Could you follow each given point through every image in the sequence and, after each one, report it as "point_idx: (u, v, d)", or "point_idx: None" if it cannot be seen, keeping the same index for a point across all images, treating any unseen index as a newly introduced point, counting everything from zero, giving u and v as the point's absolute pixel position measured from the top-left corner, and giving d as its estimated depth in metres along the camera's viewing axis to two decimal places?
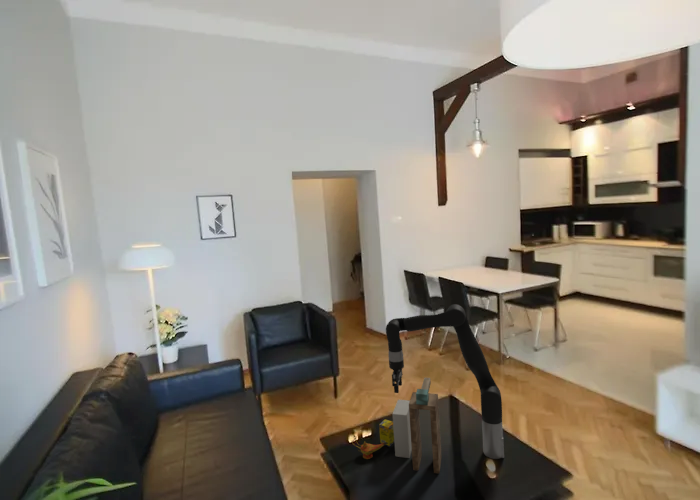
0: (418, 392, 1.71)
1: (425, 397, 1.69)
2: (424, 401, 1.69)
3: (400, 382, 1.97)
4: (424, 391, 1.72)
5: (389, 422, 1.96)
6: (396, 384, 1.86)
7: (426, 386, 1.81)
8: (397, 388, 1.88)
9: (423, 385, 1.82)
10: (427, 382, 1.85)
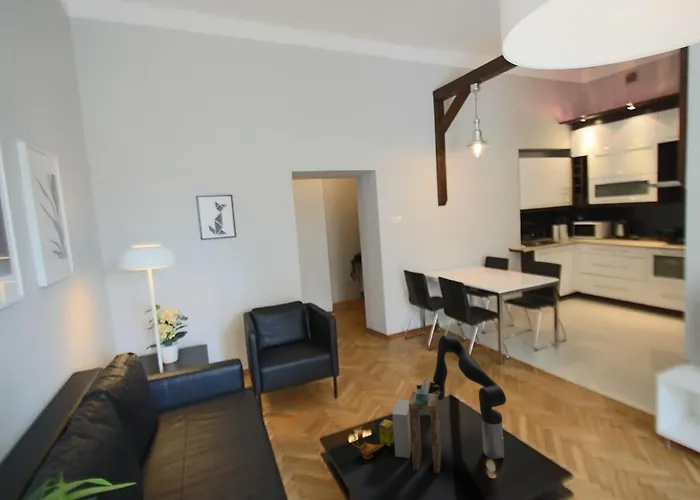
0: (418, 392, 1.71)
1: (425, 397, 1.69)
2: (424, 401, 1.69)
3: (436, 387, 1.95)
4: (424, 391, 1.72)
5: (389, 422, 1.96)
6: None
7: (426, 386, 1.81)
8: None
9: (423, 385, 1.82)
10: (427, 382, 1.85)
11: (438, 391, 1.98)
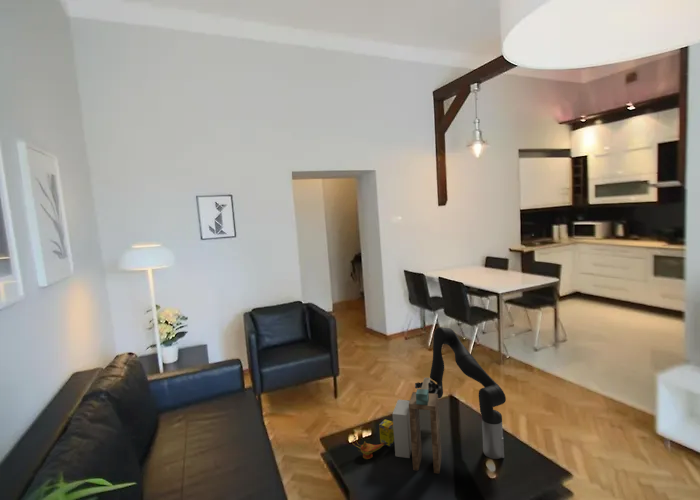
0: (418, 392, 1.71)
1: (425, 397, 1.69)
2: (424, 401, 1.69)
3: None
4: (424, 391, 1.72)
5: (389, 422, 1.96)
6: (417, 383, 1.90)
7: (426, 386, 1.81)
8: None
9: (423, 385, 1.82)
10: (427, 382, 1.85)
11: (432, 388, 1.87)
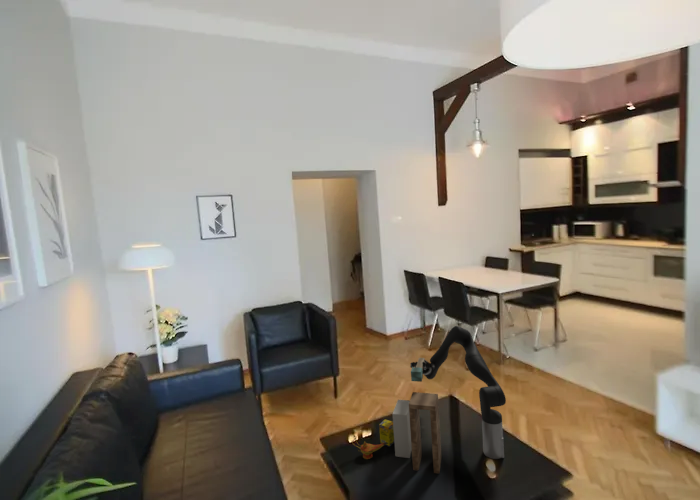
0: (413, 370, 1.87)
1: (419, 374, 1.85)
2: (418, 378, 1.85)
3: None
4: (418, 369, 1.87)
5: (389, 422, 1.96)
6: (412, 362, 2.05)
7: (420, 365, 1.96)
8: None
9: (417, 364, 1.98)
10: (421, 361, 2.01)
11: (426, 367, 2.02)
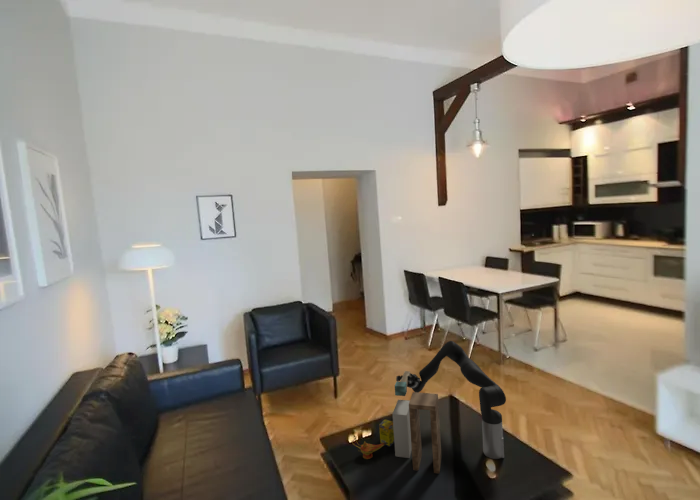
0: (397, 384, 1.87)
1: (403, 389, 1.85)
2: (402, 392, 1.85)
3: None
4: (402, 383, 1.88)
5: (389, 422, 1.96)
6: (398, 376, 2.05)
7: (405, 379, 1.97)
8: None
9: (402, 378, 1.98)
10: (406, 375, 2.01)
11: (411, 381, 2.02)
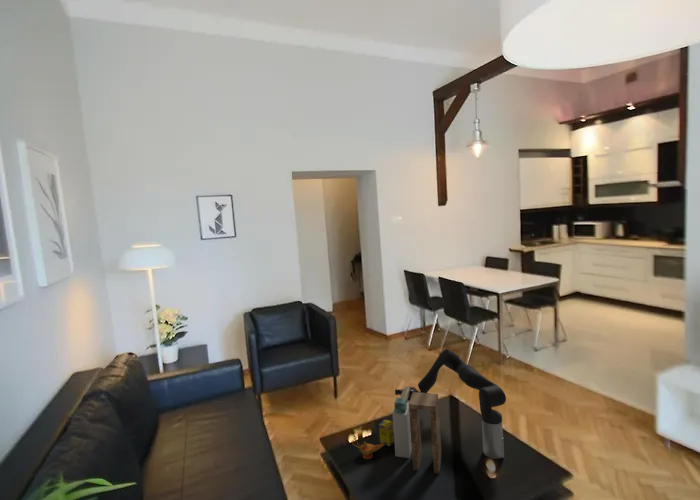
0: (396, 401, 1.85)
1: (403, 406, 1.82)
2: (402, 409, 1.83)
3: None
4: (402, 400, 1.85)
5: (389, 422, 1.96)
6: (395, 390, 2.04)
7: (405, 395, 1.94)
8: None
9: (402, 394, 1.96)
10: (406, 391, 1.98)
11: None
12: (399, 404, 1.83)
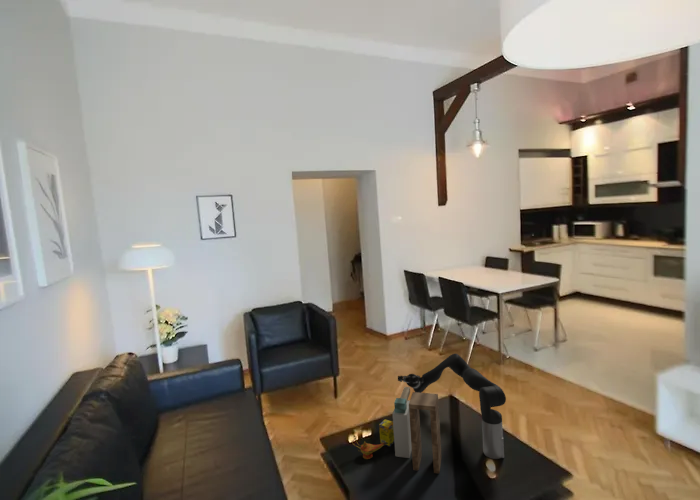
0: (396, 401, 1.85)
1: (403, 406, 1.82)
2: (402, 409, 1.83)
3: None
4: (402, 400, 1.85)
5: (389, 422, 1.96)
6: (398, 376, 2.16)
7: (405, 395, 1.94)
8: None
9: (402, 394, 1.96)
10: (406, 391, 1.98)
11: (417, 381, 2.12)
12: (399, 404, 1.83)
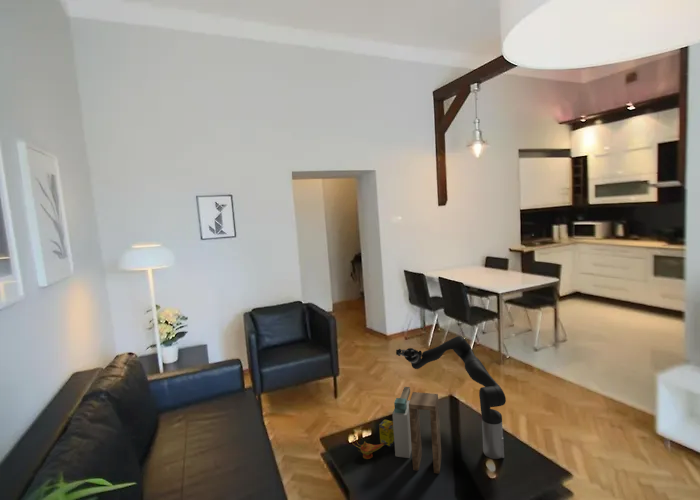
0: (396, 401, 1.85)
1: (403, 406, 1.82)
2: (402, 409, 1.83)
3: None
4: (402, 400, 1.85)
5: (389, 422, 1.96)
6: (396, 350, 2.15)
7: (405, 395, 1.94)
8: None
9: (402, 394, 1.96)
10: (406, 391, 1.98)
11: (416, 355, 2.11)
12: (399, 404, 1.83)
